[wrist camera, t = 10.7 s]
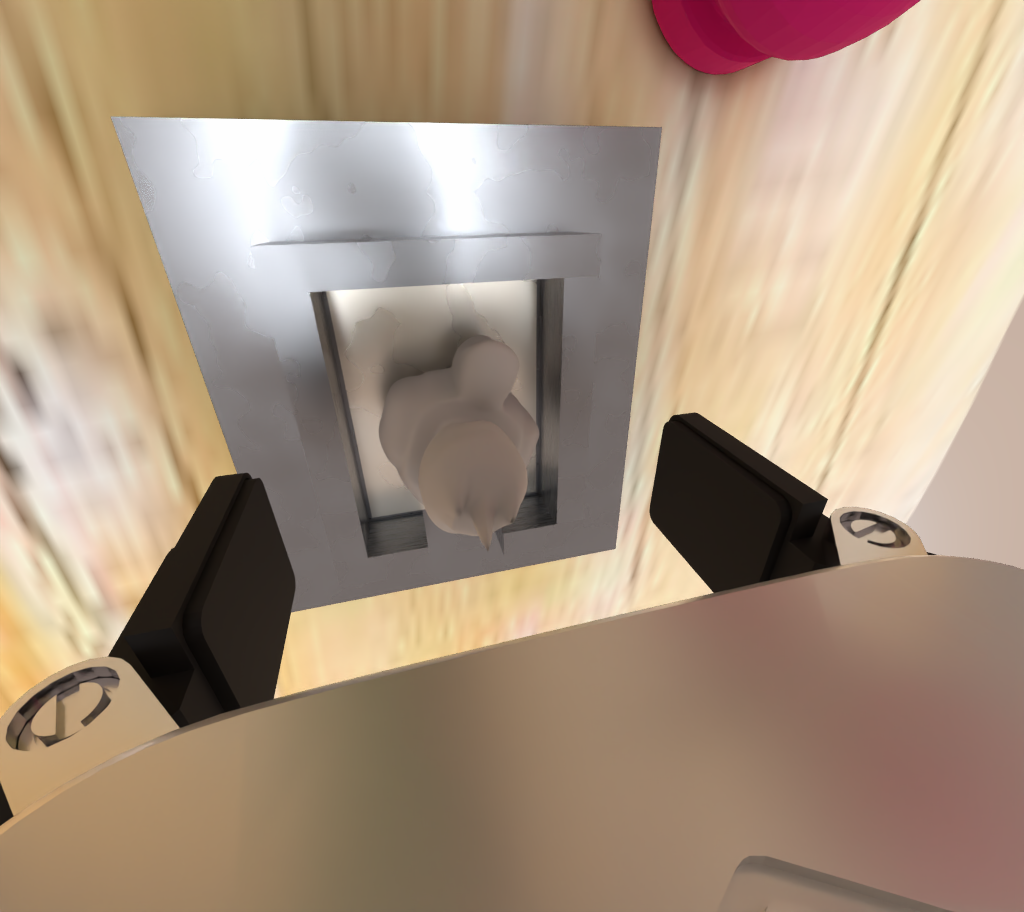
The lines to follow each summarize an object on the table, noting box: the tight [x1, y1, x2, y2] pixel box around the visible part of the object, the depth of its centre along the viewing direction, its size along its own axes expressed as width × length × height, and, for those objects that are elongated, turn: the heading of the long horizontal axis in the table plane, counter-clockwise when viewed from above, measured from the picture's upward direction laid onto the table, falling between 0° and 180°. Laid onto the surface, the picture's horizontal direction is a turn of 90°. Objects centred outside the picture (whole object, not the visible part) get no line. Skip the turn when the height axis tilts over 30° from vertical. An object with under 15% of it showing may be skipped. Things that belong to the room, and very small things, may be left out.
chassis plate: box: [111, 117, 662, 612], centre depth 18 cm, size 18×16×4 cm
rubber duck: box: [379, 335, 539, 551], centre depth 14 cm, size 5×7×8 cm
